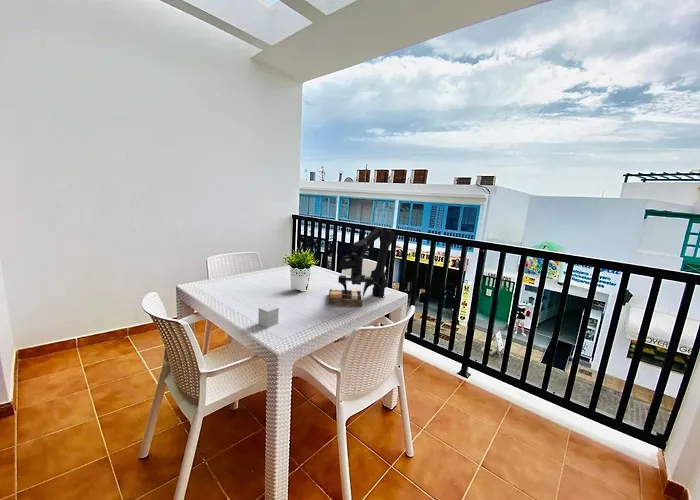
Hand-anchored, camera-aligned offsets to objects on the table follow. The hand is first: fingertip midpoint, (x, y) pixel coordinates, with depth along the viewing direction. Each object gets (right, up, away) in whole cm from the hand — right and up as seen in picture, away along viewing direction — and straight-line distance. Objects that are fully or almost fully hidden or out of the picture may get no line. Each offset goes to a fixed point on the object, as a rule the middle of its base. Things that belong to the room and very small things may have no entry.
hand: (354, 295), depth 149 cm
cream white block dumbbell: (-6, -2, +8) cm, 10 cm away
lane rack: (-5, -3, +4) cm, 8 cm away
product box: (-38, -8, -30) cm, 49 cm away
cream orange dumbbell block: (-6, -3, 0) cm, 7 cm away
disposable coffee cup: (-32, 0, +16) cm, 36 cm away
